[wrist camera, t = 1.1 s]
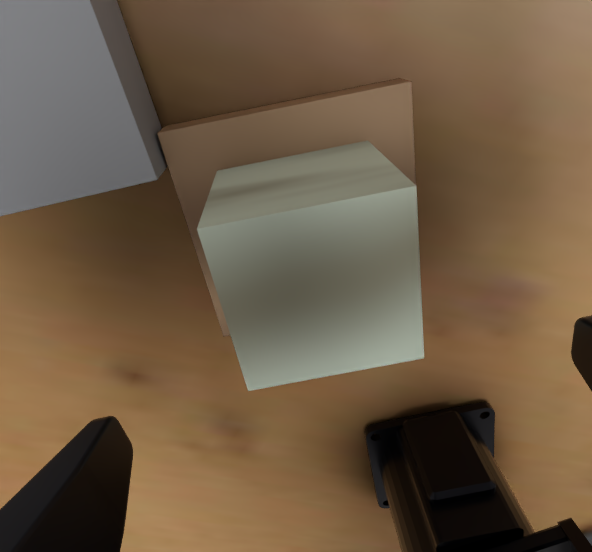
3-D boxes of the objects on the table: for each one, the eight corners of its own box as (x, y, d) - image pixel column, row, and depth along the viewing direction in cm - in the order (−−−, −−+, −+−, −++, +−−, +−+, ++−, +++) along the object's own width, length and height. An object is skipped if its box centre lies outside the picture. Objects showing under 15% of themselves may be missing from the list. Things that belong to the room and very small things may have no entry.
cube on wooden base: (409, 280, 18) (476, 387, 13) (226, 315, 19) (210, 436, 13) (397, 77, 15) (485, 101, 9) (166, 124, 15) (106, 177, 9)
